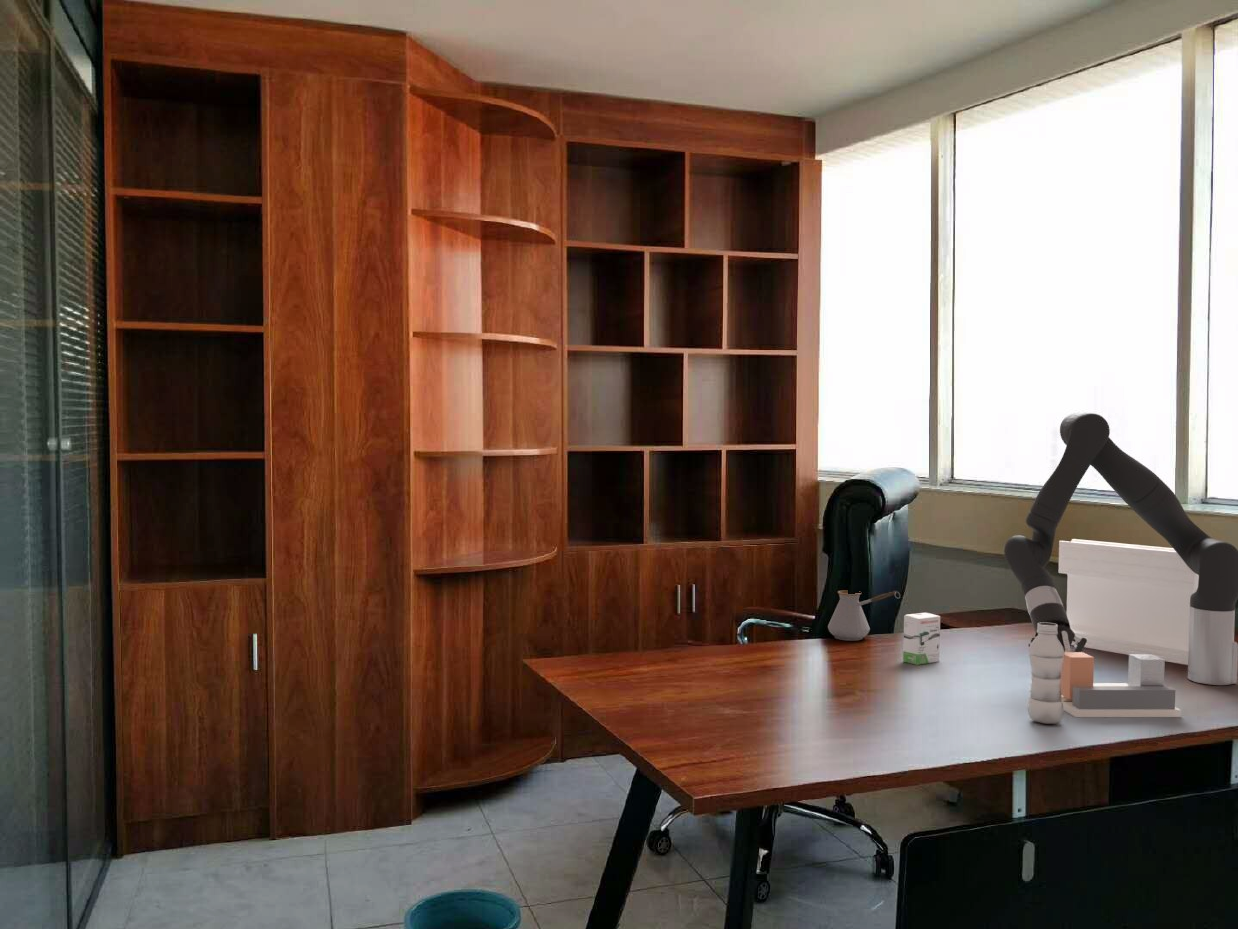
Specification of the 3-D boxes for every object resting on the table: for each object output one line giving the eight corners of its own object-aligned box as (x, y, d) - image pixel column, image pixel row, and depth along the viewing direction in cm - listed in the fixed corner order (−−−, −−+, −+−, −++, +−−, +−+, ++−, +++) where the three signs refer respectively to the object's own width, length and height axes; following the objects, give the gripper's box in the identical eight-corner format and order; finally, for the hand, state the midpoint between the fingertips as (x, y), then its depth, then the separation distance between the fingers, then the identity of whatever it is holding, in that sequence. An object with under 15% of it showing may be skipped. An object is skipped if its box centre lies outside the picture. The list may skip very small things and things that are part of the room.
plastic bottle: (1060, 729, 209) (1063, 628, 208) (1024, 724, 212) (1026, 624, 212) (1065, 721, 214) (1068, 623, 213) (1030, 716, 218) (1033, 619, 217)
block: (1204, 661, 270) (1208, 551, 269) (1191, 665, 265) (1195, 554, 264) (1070, 638, 297) (1073, 539, 296) (1056, 642, 292) (1059, 541, 290)
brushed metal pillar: (1127, 696, 227) (1128, 654, 227) (1150, 696, 227) (1151, 654, 227) (1139, 702, 222) (1141, 659, 222) (1163, 702, 222) (1164, 659, 222)
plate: (1030, 689, 240) (1031, 665, 239) (1126, 689, 240) (1127, 665, 240) (1075, 717, 218) (1075, 690, 217) (1180, 717, 218) (1181, 690, 218)
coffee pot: (819, 637, 296) (820, 584, 295) (843, 632, 303) (844, 580, 303) (886, 650, 280) (887, 593, 279) (909, 644, 288) (910, 589, 287)
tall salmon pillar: (1058, 693, 229) (1059, 652, 228) (1081, 693, 229) (1082, 652, 228) (1069, 699, 224) (1070, 657, 223) (1092, 699, 224) (1094, 657, 223)
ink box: (917, 665, 263) (918, 618, 262) (901, 661, 267) (902, 615, 266) (940, 661, 267) (941, 614, 267) (924, 657, 272) (925, 611, 271)
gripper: (1022, 601, 238) (1044, 668, 226) (1080, 601, 238) (1106, 668, 227) (1012, 620, 243) (1033, 686, 232) (1069, 620, 244) (1093, 686, 232)
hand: (1069, 677), depth 229 cm, fingers closed
